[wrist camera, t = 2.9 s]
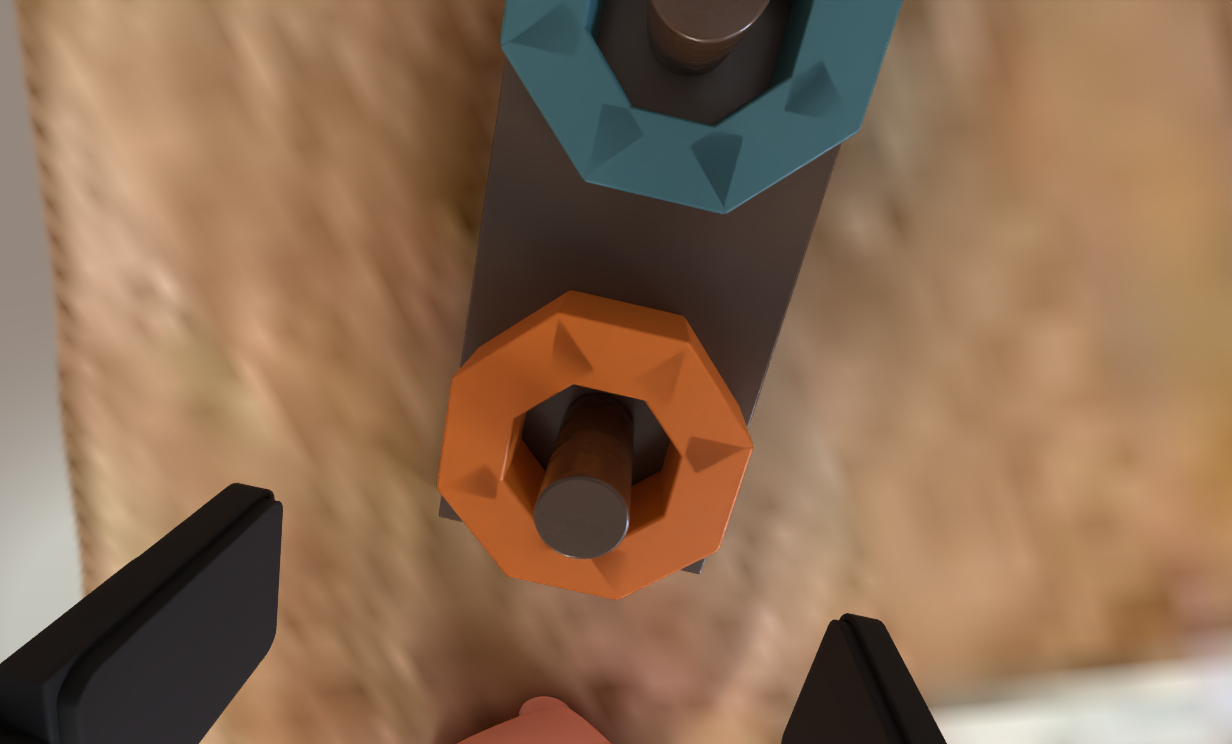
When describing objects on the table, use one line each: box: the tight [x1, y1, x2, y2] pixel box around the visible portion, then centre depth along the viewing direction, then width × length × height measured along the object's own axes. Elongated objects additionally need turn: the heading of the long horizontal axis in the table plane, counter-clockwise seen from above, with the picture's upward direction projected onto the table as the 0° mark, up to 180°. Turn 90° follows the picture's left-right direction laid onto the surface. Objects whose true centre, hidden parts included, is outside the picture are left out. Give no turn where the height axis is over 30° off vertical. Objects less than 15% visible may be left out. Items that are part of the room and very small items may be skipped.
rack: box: [439, 0, 842, 574], centre depth 14 cm, size 18×8×6 cm, turn 167°
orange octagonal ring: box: [437, 290, 753, 600], centre depth 16 cm, size 7×7×2 cm
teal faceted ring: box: [500, 0, 903, 214], centre depth 13 cm, size 7×7×2 cm
